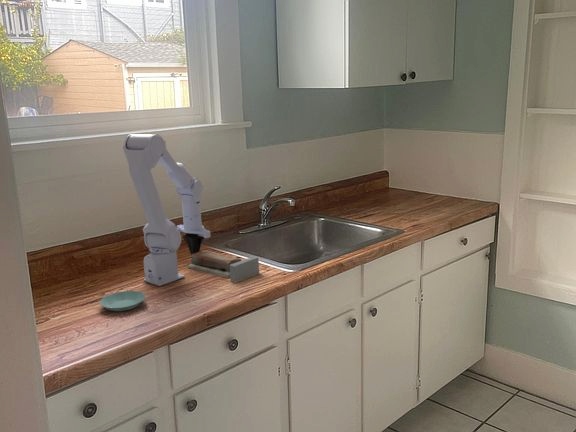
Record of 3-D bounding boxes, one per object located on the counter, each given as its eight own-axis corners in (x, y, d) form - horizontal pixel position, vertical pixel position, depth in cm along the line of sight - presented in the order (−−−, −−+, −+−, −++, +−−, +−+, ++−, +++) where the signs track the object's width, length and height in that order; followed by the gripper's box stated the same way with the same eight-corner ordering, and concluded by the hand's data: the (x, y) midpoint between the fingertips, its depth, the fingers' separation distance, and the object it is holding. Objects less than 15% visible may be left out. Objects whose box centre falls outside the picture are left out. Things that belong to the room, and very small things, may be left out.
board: (235, 282, 170) (234, 266, 169) (230, 281, 171) (229, 265, 170) (259, 273, 177) (258, 257, 176) (254, 271, 178) (253, 256, 177)
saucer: (93, 316, 151) (92, 307, 150) (110, 298, 162) (109, 290, 161) (138, 315, 150) (137, 307, 149) (151, 297, 161) (151, 290, 161)
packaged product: (185, 254, 184) (207, 246, 191) (186, 269, 185) (208, 260, 192) (226, 264, 173) (248, 255, 180) (227, 279, 174) (249, 270, 181)
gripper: (216, 215, 183) (219, 256, 187) (187, 209, 193) (190, 248, 196) (199, 220, 178) (202, 262, 182) (170, 213, 188) (173, 254, 191)
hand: (195, 255), depth 189 cm, fingers closed
